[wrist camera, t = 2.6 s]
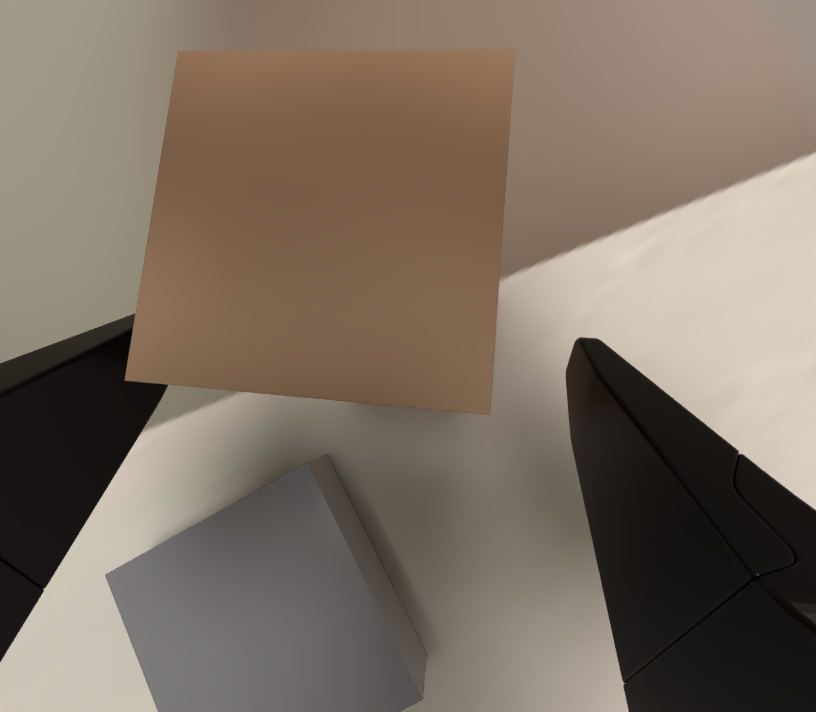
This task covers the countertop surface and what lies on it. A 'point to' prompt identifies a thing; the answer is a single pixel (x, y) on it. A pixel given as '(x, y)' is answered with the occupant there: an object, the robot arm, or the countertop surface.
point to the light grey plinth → (272, 608)
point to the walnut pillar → (329, 226)
